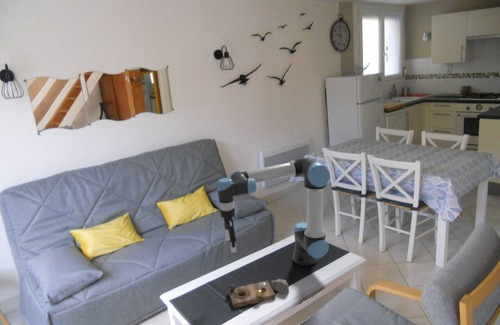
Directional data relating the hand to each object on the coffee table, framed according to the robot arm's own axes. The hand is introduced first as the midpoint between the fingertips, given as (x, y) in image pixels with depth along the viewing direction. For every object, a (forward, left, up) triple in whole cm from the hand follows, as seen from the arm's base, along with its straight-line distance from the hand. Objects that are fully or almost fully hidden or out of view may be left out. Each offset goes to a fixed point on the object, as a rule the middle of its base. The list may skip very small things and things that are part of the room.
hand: (231, 246), depth 198 cm
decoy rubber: (+2, +3, -22) cm, 23 cm away
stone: (-23, +8, -27) cm, 37 cm away
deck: (-7, +8, -27) cm, 29 cm away
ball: (-14, +8, -22) cm, 27 cm away
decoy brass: (-10, +13, -22) cm, 28 cm away
